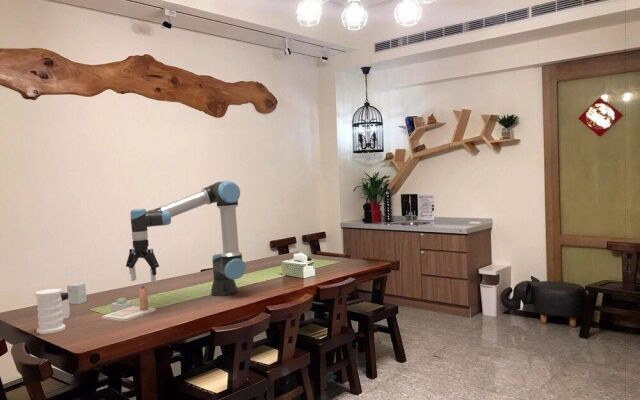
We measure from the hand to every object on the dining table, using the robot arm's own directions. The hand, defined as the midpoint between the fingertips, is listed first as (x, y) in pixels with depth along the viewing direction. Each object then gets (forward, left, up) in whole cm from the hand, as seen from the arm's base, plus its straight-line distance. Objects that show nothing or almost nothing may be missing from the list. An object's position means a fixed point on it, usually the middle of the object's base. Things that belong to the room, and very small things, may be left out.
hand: (143, 281), depth 256 cm
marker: (0, 0, -15) cm, 15 cm away
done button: (+17, -1, -14) cm, 22 cm away
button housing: (+17, -1, -16) cm, 23 cm away
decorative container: (+19, +38, -16) cm, 46 cm away
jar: (+34, +22, -16) cm, 44 cm away
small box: (+55, -4, -16) cm, 58 cm away
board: (+4, +6, -16) cm, 18 cm away
